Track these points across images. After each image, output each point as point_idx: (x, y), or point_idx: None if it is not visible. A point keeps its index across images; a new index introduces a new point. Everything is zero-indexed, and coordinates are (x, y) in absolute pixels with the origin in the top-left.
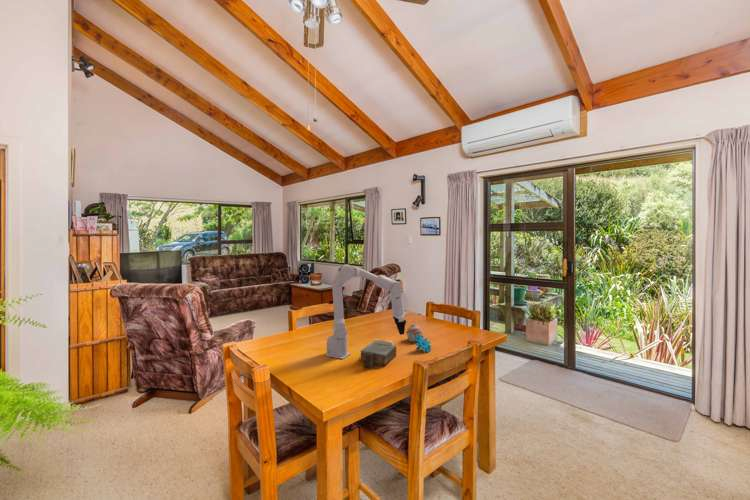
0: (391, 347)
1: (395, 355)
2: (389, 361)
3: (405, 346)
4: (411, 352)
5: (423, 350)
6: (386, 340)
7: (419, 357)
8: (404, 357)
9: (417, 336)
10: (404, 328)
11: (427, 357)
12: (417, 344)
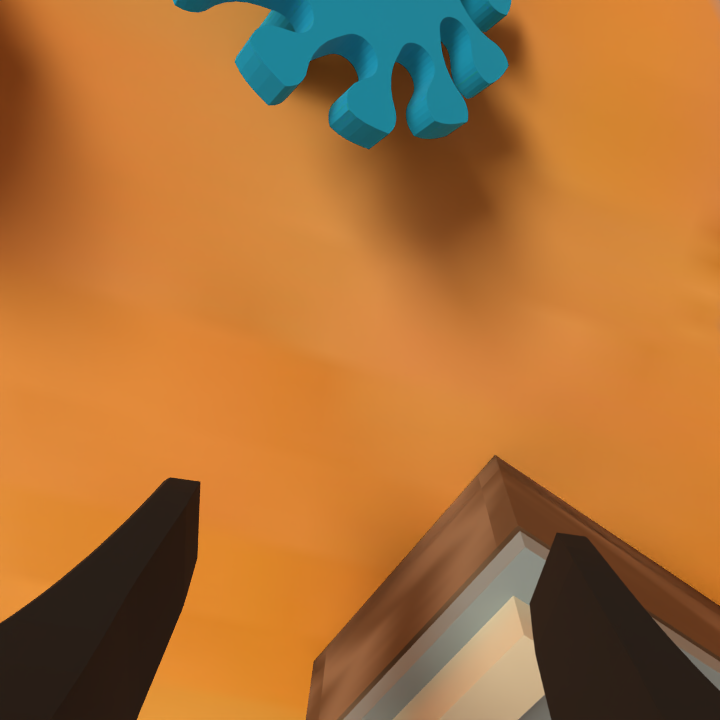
0: None
1: (519, 477)
2: (685, 587)
3: (126, 215)
4: (404, 206)
5: (507, 12)
6: (451, 711)
7: (638, 150)
8: (575, 367)
9: (273, 46)
10: (683, 654)
11: (679, 12)
12: (466, 119)
